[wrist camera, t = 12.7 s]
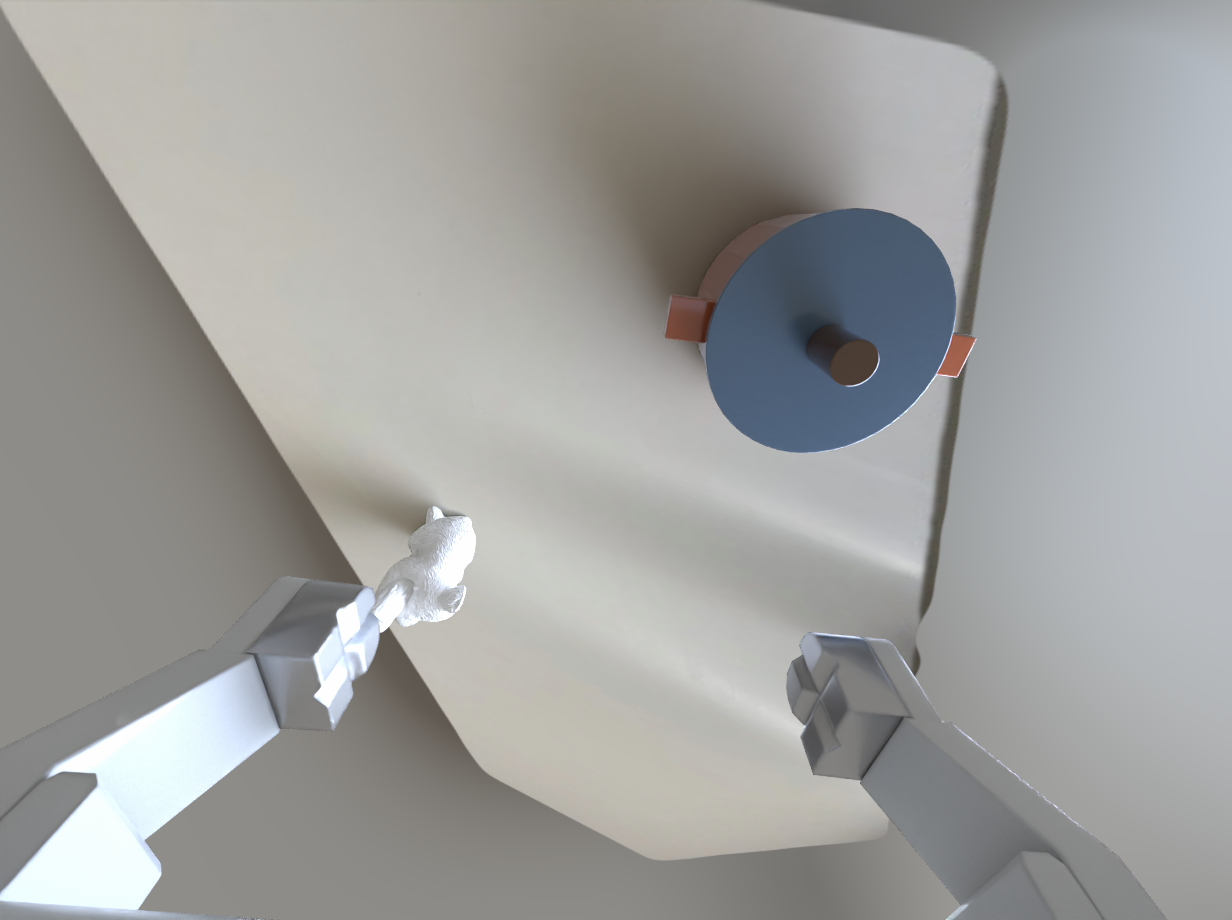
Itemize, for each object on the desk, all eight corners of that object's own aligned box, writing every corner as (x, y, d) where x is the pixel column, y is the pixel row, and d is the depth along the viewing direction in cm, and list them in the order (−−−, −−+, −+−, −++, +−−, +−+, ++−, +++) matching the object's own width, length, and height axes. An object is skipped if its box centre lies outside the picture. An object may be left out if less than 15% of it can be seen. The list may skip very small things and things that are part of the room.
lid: (734, 189, 24) (758, 185, 20) (989, 228, 24) (1064, 232, 20) (682, 431, 30) (691, 466, 26) (885, 456, 31) (925, 495, 27)
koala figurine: (408, 552, 45) (342, 656, 35) (398, 493, 42) (322, 588, 31) (495, 557, 45) (457, 663, 35) (492, 500, 42) (448, 596, 32)
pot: (675, 196, 31) (692, 192, 23) (937, 235, 32) (1034, 242, 24) (645, 378, 37) (651, 422, 29) (866, 407, 38) (927, 456, 30)
